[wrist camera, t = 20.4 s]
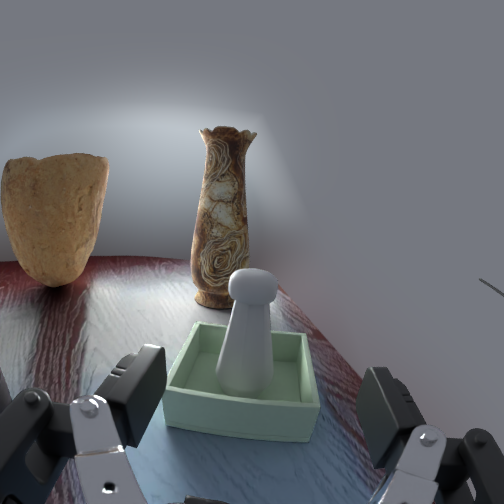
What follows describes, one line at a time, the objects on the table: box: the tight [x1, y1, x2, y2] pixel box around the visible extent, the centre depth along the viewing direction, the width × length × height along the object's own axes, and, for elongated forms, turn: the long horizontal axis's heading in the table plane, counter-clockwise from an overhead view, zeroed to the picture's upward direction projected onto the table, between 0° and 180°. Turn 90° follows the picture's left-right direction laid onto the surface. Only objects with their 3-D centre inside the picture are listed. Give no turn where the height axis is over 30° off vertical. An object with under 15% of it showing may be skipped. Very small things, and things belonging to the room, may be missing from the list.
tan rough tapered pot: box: [1, 153, 109, 287], centre depth 46 cm, size 22×22×25 cm
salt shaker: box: [215, 268, 278, 399], centre depth 27 cm, size 6×6×13 cm
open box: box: [162, 321, 321, 442], centre depth 28 cm, size 13×13×5 cm
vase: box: [191, 126, 257, 309], centre depth 50 cm, size 10×11×30 cm
